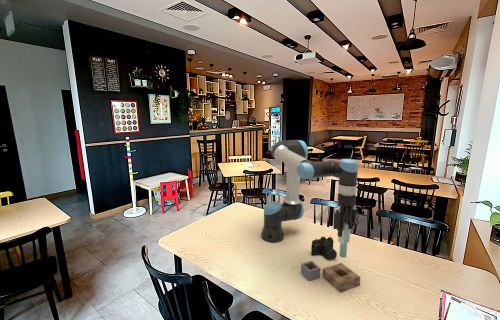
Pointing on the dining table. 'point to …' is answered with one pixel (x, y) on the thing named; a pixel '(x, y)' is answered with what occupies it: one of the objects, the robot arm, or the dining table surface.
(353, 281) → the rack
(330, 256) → the camera
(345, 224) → the dowel
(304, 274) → the pen cup
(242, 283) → the dining table surface
